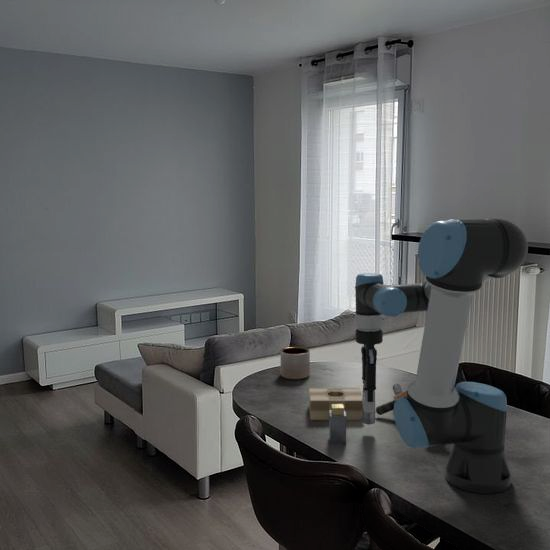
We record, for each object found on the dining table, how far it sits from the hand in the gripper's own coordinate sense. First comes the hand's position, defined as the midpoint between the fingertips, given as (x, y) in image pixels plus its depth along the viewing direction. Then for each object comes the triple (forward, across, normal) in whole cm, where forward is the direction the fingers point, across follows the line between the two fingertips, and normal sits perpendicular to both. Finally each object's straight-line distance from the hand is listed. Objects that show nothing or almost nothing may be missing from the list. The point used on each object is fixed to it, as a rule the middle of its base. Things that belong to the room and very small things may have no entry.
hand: (368, 409), depth 183 cm
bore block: (+6, +16, +8) cm, 19 cm away
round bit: (+4, 0, 0) cm, 4 cm away
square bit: (+7, -5, +9) cm, 13 cm away
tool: (+4, +10, -12) cm, 16 cm away
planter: (+6, +54, +20) cm, 58 cm away
